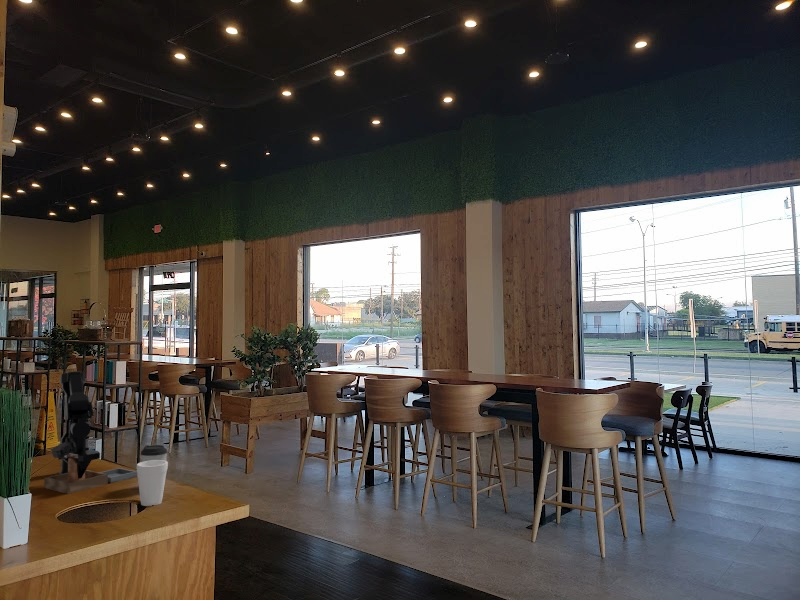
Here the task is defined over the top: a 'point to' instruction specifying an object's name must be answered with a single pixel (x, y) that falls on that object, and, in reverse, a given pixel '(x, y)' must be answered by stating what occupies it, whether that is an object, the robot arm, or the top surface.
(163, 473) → the foam cup
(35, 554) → the top surface
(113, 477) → the grey rectangular bin
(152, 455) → the coffee cup
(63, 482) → the brown square tray
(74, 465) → the terracotta peg
